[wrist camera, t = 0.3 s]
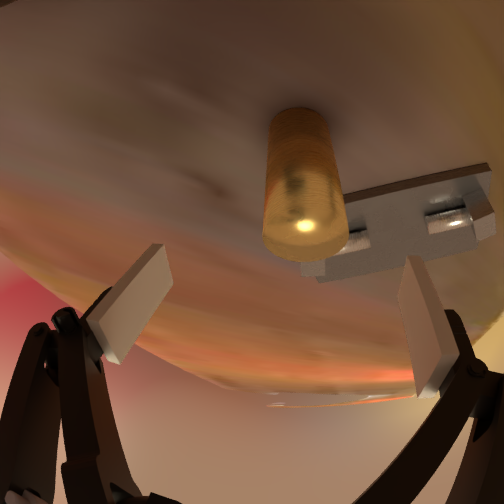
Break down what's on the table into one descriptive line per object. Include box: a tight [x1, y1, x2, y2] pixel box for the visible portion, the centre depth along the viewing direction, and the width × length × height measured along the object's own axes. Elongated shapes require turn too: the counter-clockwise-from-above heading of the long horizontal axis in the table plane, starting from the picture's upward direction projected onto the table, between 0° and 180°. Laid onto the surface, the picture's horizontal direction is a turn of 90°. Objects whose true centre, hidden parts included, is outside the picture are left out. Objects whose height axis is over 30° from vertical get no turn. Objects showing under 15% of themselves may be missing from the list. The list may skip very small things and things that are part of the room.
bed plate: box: [300, 163, 496, 283], centre depth 31 cm, size 23×14×5 cm, turn 117°
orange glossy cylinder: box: [263, 108, 349, 262], centre depth 20 cm, size 5×5×11 cm
